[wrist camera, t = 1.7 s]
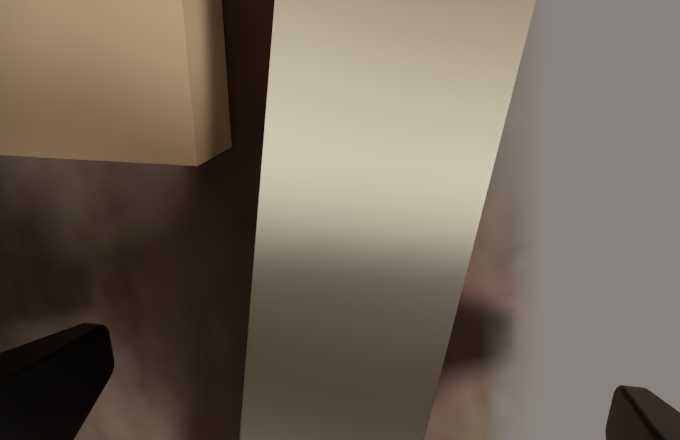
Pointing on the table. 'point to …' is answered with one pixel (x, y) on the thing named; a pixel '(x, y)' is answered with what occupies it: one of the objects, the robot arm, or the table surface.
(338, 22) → the rod
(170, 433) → the table surface
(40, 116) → the balance board
